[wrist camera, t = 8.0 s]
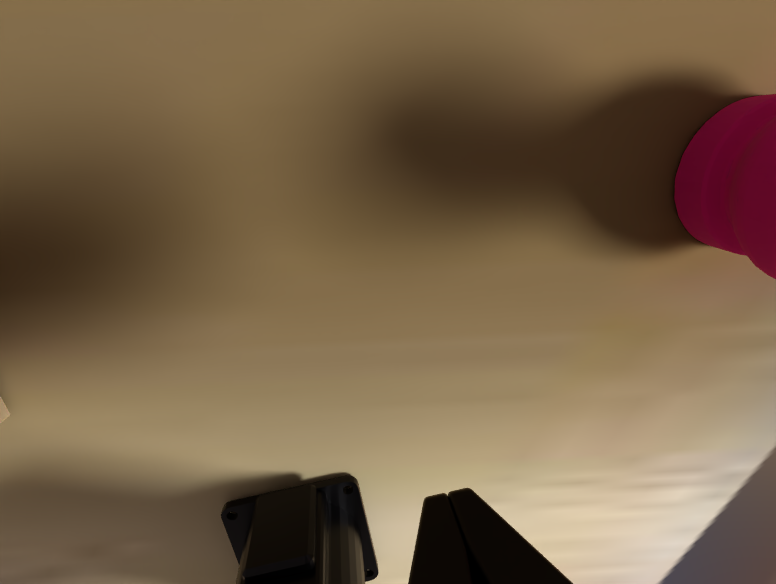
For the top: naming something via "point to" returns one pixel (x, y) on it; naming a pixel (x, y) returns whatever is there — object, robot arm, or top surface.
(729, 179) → the pepper mill
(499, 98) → the top surface
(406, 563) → the top surface
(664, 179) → the top surface
